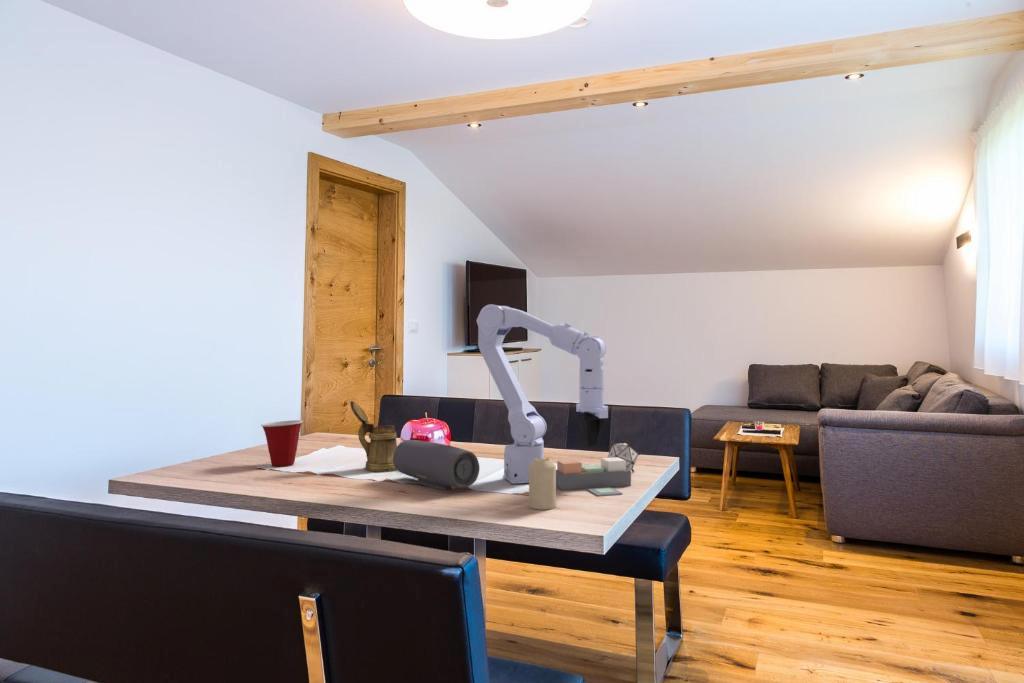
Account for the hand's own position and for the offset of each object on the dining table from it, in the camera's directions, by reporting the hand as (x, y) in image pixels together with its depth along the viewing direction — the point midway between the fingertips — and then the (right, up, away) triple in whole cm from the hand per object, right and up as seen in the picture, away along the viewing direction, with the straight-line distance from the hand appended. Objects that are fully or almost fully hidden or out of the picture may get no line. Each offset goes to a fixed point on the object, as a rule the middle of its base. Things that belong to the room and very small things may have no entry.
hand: (591, 445), depth 158 cm
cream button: (+5, -7, +2) cm, 9 cm away
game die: (+10, -10, +15) cm, 20 cm away
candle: (-12, -10, -20) cm, 25 cm away
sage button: (0, -8, 0) cm, 8 cm away
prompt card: (+2, -10, -7) cm, 12 cm away
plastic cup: (-82, -9, +25) cm, 86 cm away
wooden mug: (-55, -9, +20) cm, 60 cm away
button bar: (0, -9, 0) cm, 9 cm away
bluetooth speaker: (-37, -10, 0) cm, 38 cm away
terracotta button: (-5, -7, -2) cm, 9 cm away
